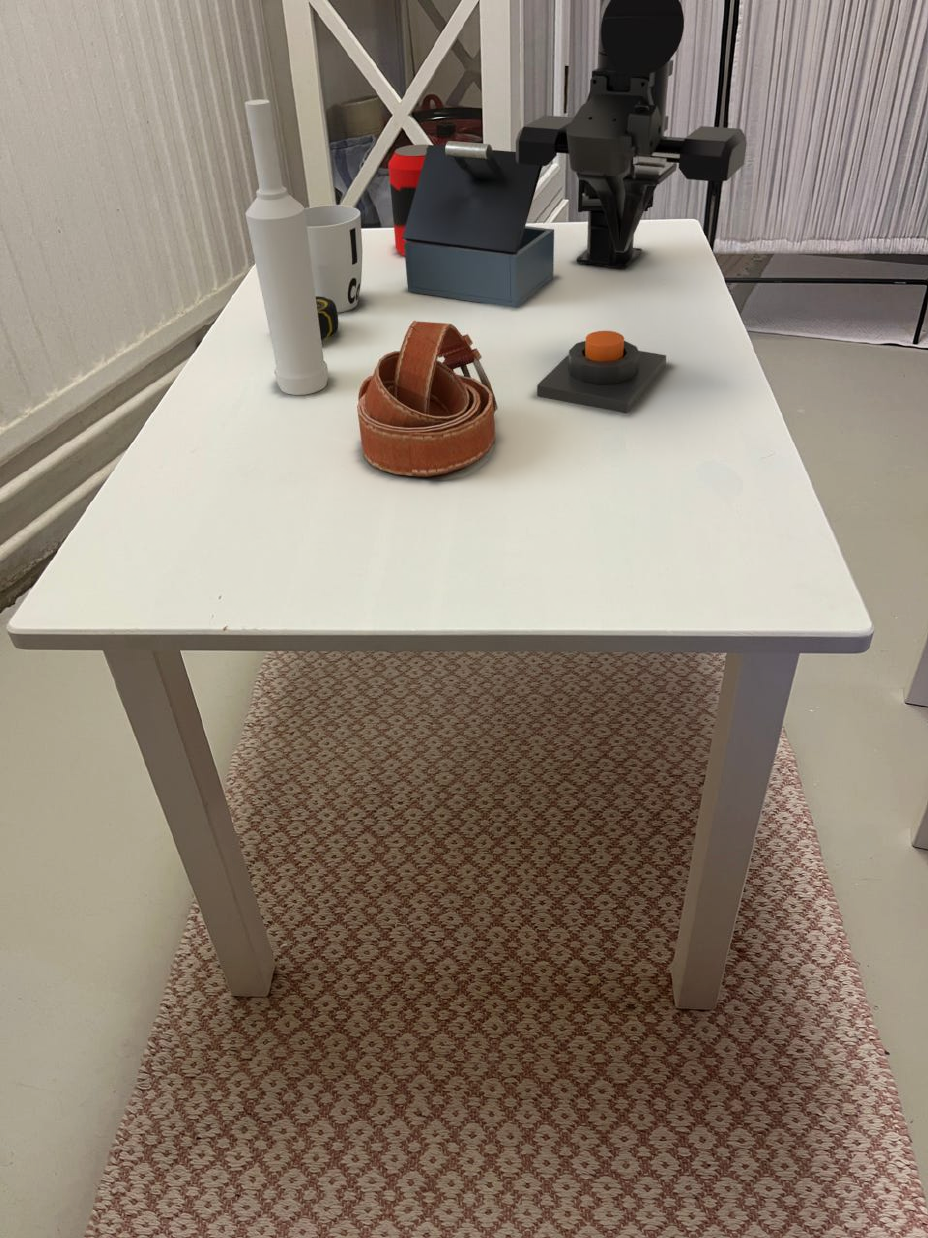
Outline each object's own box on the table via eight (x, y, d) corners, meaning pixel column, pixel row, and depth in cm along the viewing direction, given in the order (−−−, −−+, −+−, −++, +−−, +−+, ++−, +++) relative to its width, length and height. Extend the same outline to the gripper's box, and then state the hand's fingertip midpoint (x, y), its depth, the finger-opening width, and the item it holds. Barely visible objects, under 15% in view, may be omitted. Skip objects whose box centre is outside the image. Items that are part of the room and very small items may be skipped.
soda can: (458, 254, 120) (454, 153, 112) (401, 261, 119) (392, 160, 111) (446, 237, 126) (440, 139, 118) (391, 243, 125) (382, 146, 117)
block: (581, 352, 95) (582, 323, 93) (665, 366, 92) (668, 337, 90) (536, 396, 88) (536, 367, 86) (626, 414, 84) (629, 383, 82)
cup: (366, 316, 105) (355, 225, 99) (295, 319, 105) (280, 228, 99) (373, 290, 111) (363, 203, 105) (306, 293, 112) (293, 206, 105)
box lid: (430, 147, 107) (413, 124, 102) (545, 157, 101) (531, 132, 97) (404, 240, 107) (386, 221, 103) (517, 254, 102) (502, 235, 97)
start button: (593, 345, 90) (594, 327, 89) (628, 351, 89) (629, 333, 88) (579, 359, 88) (579, 342, 87) (615, 366, 86) (616, 348, 85)
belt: (530, 427, 83) (530, 318, 77) (450, 494, 75) (443, 378, 69) (406, 394, 89) (397, 291, 83) (320, 453, 81) (302, 343, 75)
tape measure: (329, 321, 105) (325, 288, 102) (348, 342, 100) (344, 308, 97) (270, 333, 103) (264, 300, 100) (287, 355, 98) (281, 321, 95)
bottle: (320, 397, 90) (275, 108, 74) (269, 394, 91) (215, 108, 75) (336, 374, 94) (297, 95, 78) (287, 371, 95) (239, 95, 79)
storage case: (449, 263, 118) (446, 216, 114) (553, 277, 112) (554, 229, 108) (407, 291, 111) (403, 242, 107) (516, 308, 105) (516, 257, 102)
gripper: (484, 64, 72) (489, 267, 82) (720, 75, 65) (695, 296, 75) (543, 40, 80) (541, 229, 90) (761, 48, 72) (733, 252, 82)
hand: (621, 250), depth 84 cm, fingers closed
